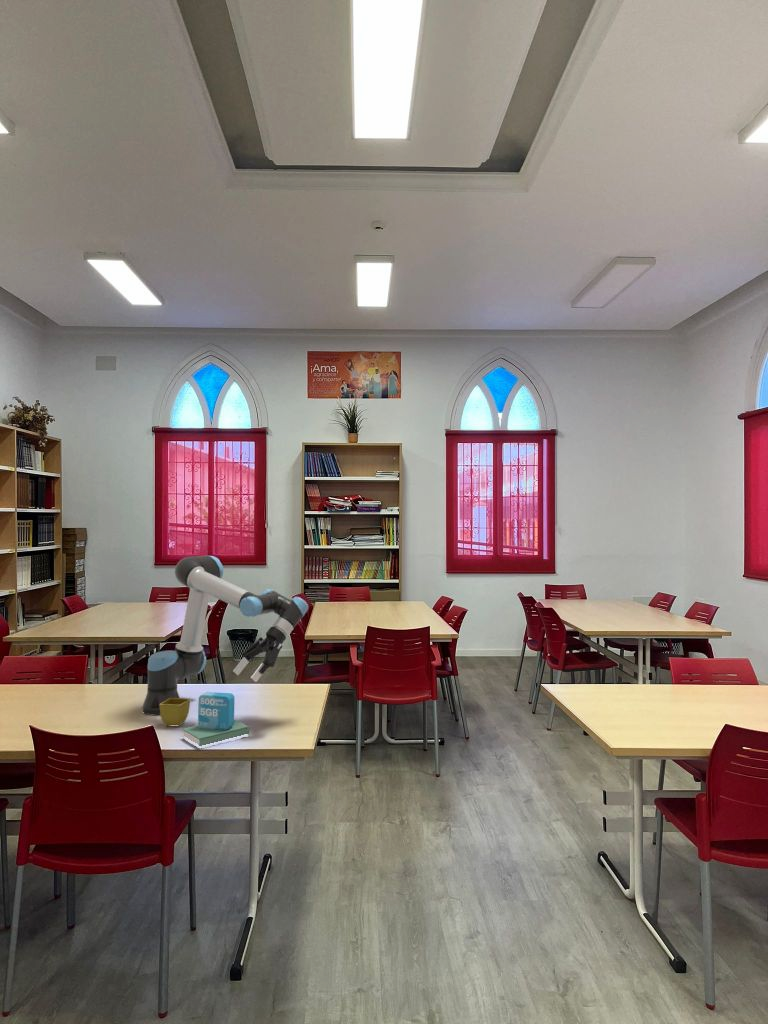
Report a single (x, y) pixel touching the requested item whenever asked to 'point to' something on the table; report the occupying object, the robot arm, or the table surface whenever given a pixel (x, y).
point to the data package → (216, 710)
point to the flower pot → (174, 711)
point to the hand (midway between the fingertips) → (244, 676)
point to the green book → (214, 733)
